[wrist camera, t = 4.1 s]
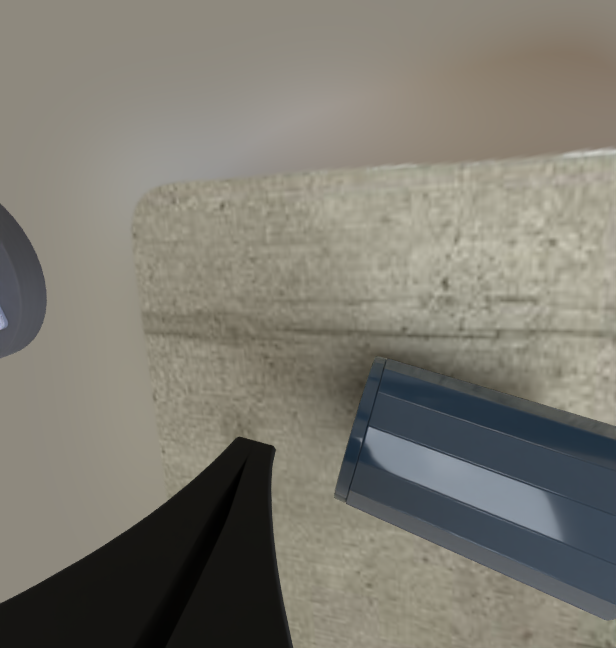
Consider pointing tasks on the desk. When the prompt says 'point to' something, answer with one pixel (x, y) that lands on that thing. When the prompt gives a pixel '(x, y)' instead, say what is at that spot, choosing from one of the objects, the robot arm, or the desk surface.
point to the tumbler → (489, 480)
